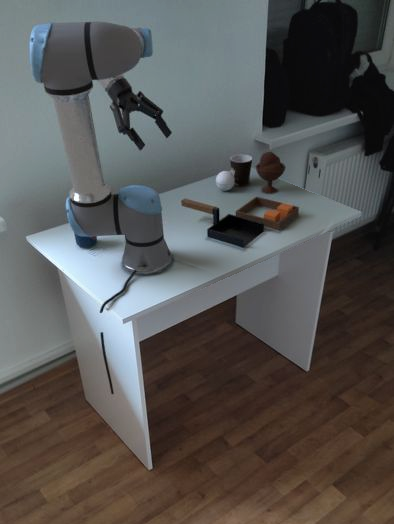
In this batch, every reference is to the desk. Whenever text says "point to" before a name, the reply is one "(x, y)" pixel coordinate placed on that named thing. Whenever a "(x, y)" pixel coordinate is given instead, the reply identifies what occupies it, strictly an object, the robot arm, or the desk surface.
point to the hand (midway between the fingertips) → (156, 141)
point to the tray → (267, 222)
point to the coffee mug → (241, 169)
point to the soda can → (85, 241)
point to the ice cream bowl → (270, 170)
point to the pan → (228, 225)
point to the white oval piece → (225, 180)
